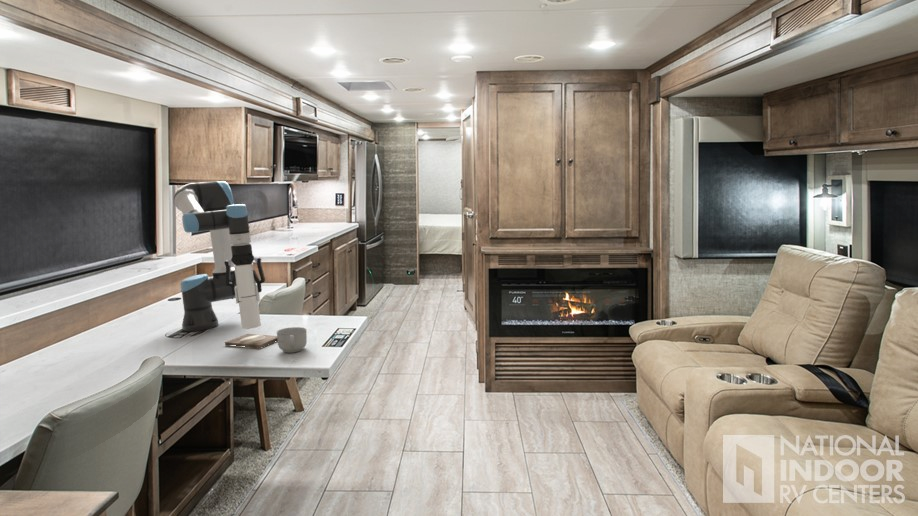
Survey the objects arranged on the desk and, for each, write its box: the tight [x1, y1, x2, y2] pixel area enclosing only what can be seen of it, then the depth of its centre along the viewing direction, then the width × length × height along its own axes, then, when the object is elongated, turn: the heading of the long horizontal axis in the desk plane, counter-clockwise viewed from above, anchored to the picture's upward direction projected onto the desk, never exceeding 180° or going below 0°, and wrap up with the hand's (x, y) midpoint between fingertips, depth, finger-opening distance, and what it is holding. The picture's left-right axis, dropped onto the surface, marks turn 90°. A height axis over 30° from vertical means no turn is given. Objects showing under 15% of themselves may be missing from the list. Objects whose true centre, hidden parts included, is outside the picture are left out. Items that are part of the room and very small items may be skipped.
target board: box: [224, 333, 278, 349], centre depth 242 cm, size 18×12×2 cm, turn 65°
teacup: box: [276, 326, 308, 353], centre depth 226 cm, size 14×11×8 cm
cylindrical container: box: [234, 262, 262, 330], centre depth 239 cm, size 7×7×25 cm
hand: (248, 301), depth 239 cm, fingers closed on cylindrical container, 7 cm apart
